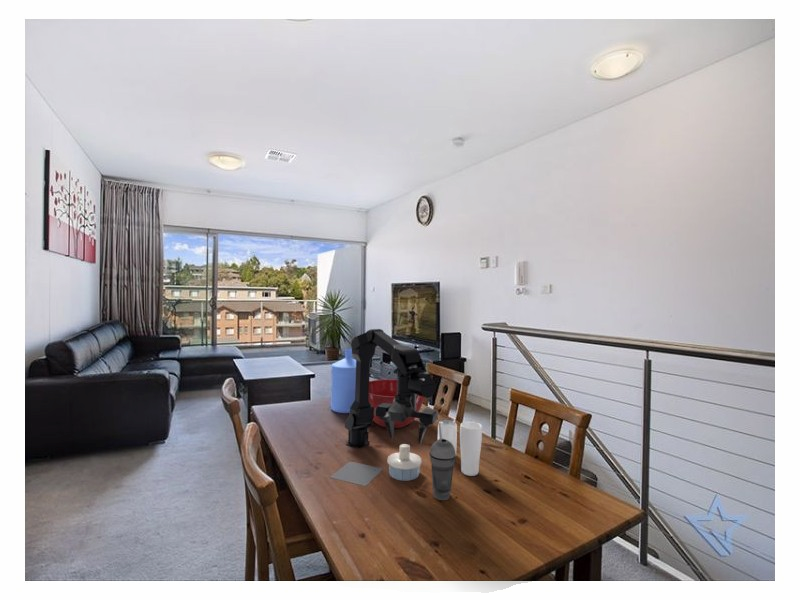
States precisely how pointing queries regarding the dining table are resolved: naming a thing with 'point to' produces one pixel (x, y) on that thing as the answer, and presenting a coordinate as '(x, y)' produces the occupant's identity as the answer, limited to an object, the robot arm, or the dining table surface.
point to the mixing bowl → (388, 399)
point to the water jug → (343, 383)
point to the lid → (404, 459)
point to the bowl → (404, 473)
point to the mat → (357, 473)
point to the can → (448, 431)
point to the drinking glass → (470, 447)
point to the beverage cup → (442, 467)
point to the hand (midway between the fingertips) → (405, 441)
